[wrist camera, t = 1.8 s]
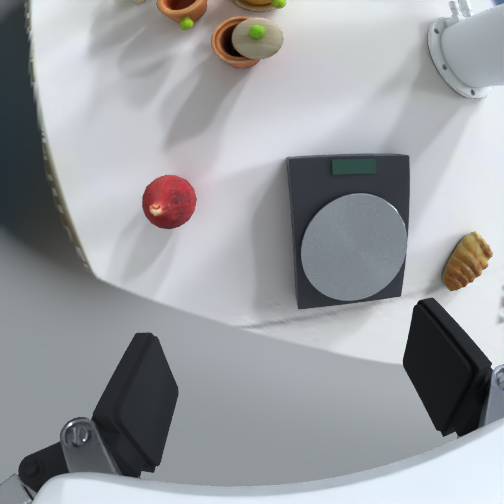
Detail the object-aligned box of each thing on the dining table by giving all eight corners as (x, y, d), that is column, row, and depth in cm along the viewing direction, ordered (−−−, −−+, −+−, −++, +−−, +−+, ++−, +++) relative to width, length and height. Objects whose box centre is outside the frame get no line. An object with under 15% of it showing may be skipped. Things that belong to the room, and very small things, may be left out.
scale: (286, 157, 31) (288, 158, 28) (398, 153, 30) (410, 155, 27) (295, 297, 38) (298, 310, 35) (392, 286, 37) (401, 297, 34)
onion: (194, 165, 32) (174, 173, 24) (208, 211, 34) (192, 232, 26) (150, 179, 33) (120, 191, 25) (164, 223, 35) (139, 246, 27)
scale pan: (296, 196, 29) (297, 197, 29) (407, 190, 28) (410, 191, 28) (302, 303, 34) (302, 306, 34) (399, 291, 33) (401, 293, 33)
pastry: (452, 293, 37) (463, 305, 33) (432, 271, 36) (445, 283, 32) (486, 249, 34) (499, 258, 30) (468, 223, 33) (484, 231, 29)
